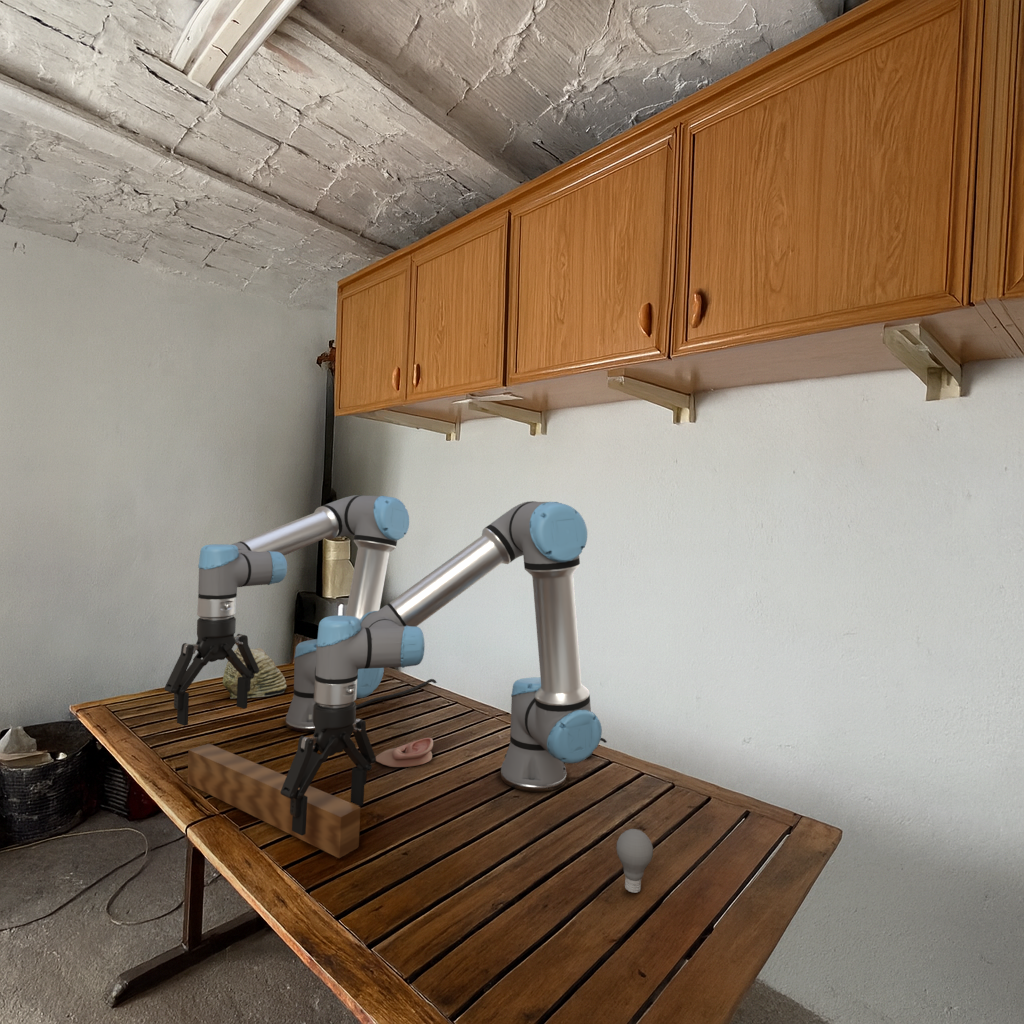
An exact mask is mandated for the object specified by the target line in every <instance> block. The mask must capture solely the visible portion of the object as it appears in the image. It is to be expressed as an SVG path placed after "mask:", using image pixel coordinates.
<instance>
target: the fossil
mask: <svg viewBox="0 0 1024 1024" xmlns="http://www.w3.org/2000/svg"><path fill="white" fill-rule="evenodd" d="M250 650H251V652H252V654H253V657H254V659H255V661H256V663H257V666H258V668H259V672H258V673H257V674H256V673H255V674H254V678H253V679H251V684H250V685H251V686H250V691H249V692H248V695H247V699H250V698H264V697H271V696H275V695H281V694H284V693H285V691H286V689H287V687H288V686H287V680H286V678H285V676H284V674H283V673H282V672H281V669H279V668H278V667H277V665H276V663H275V662H274V660H273V659H272V658H271V657H270V656H269V655H268V654H267V653H266V652H265V650H264V649H263V648H260V647H258V648H250ZM233 651H234V652H235V653H236V655H237V657H238V658H239V659H240V660H241V661H242V663H243V664H244V665H245V666H246V664H245V662H244V660H243V658H242V656H241V653H240V651H239V649H238V647H237V648H236V649H235V650H233ZM222 676H223V677H222V685H223V687H224V688H225V690H226V691H228V693H229V698H230V699H237V682H238V677H242V676H241V674H240V673H239V672H238V671H237V670H236V669H235V668H234V667H233V665H232V664H231V663H230V662H229V661H228V660H227V663H226V666H225V668H224V671H223V675H222Z"/></svg>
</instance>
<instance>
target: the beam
mask: <svg viewBox="0 0 1024 1024" xmlns="http://www.w3.org/2000/svg"><path fill="white" fill-rule="evenodd" d="M187 753H188V756H187V758H188V759H187V782H186V783H187V785H189V786H191V787H193V788H195V789H198V790H199V791H201V792H203V793H206V794H207V795H210V796H212V797H213V798H216V799H217V800H220V801H222V802H224V803H226V804H228V805H230V806H232V807H234V808H236V809H237V810H240V811H242V812H244V813H246V814H248V815H250V816H252V817H254V818H256V819H258V820H260V821H262V822H265V823H266V824H268V825H271V826H273V827H275V828H277V829H278V830H280V831H282V832H284V833H286V834H288V835H291V836H292V837H294V838H297V839H299V840H301V841H303V842H305V843H307V844H309V845H311V846H313V847H315V848H317V849H319V850H321V851H322V852H325V853H327V854H329V855H331V856H333V857H335V858H337V859H341V858H342V857H344V856H347V855H348V854H349V853H351V852H353V851H354V850H356V849H358V848H359V847H360V829H361V827H360V826H361V806H359V805H356V804H354V803H352V802H351V801H350V802H349V801H347V800H344V799H342V798H340V797H338V796H336V795H333V794H331V793H329V792H326V791H323V790H321V789H318V788H317V787H314V786H312V785H309V787H308V789H307V791H306V792H305V794H304V795H305V796H307V816H306V834H304V835H300V834H298V833H296V832H294V831H292V817H293V816H292V815H291V814H290V801H291V799H290V798H288V797H285V796H283V795H281V793H280V792H281V789H282V787H283V784H284V782H285V779H286V777H287V775H285V774H283V773H280V772H278V771H276V770H273V769H271V768H269V767H266V766H264V765H261V764H259V763H256V762H254V761H251V760H249V759H247V758H245V757H243V756H240V755H237V754H235V753H233V752H230V751H228V750H226V749H223V748H221V747H218V746H216V745H213V744H212V743H206V744H203V745H199V746H196V747H193V748H190V749H188V752H187ZM299 789H300V788H298V790H299Z"/></svg>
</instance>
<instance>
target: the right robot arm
mask: <svg viewBox="0 0 1024 1024" xmlns="http://www.w3.org/2000/svg"><path fill="white" fill-rule="evenodd" d="M587 542H588V528H587V523H586V522H585V519H584V517H583V515H581V514H580V512H579V511H578V510H577V509H575V507H572V506H571V505H568V504H566V503H562V502H558V501H535V500H534V501H533V500H530V501H525V502H522V503H520V504H517V505H515V506H513V507H512V508H510V509H509V510H507V511H506V512H504V513H503V514H502V515H500V516H499V517H497V518H496V519H495V520H494V521H492V522H491V523H490V524H488V525H487V526H485V527H484V528H483V529H482V532H481V536H480V537H478V538H477V539H475V540H474V541H473V542H471V543H470V544H469V545H467V546H466V547H464V548H463V549H461V550H460V551H458V553H456V554H455V555H453V556H452V557H450V558H449V559H447V560H446V561H445V562H444V563H441V565H440V566H438V567H437V568H435V569H434V570H432V571H431V572H430V573H428V574H427V575H426V576H424V577H423V578H422V579H420V580H419V581H417V582H416V583H415V584H413V585H411V586H410V587H409V588H408V589H406V590H405V591H404V592H402V593H401V594H399V595H398V596H396V597H395V598H394V599H393V600H391V601H390V602H388V603H387V604H386V605H383V606H382V607H380V609H379V610H378V611H372V612H368V613H366V614H365V615H364V616H363V617H362V618H361V619H360V620H359V619H358V618H357V617H353V616H346V615H342V614H341V615H330V616H326V617H323V618H322V619H321V620H320V621H319V623H318V628H317V629H318V630H317V638H316V639H317V642H316V644H317V648H316V674H315V689H314V701H315V702H316V703H315V704H314V709H313V724H314V726H315V732H313V735H311V736H304V735H301V736H299V738H298V743H297V750H296V752H295V755H294V757H293V759H292V762H291V764H290V766H289V769H288V771H287V774H286V776H287V777H286V779H285V782H284V784H283V787H282V789H281V792H280V793H281V795H283V796H285V797H288V798H290V799H291V801H290V814H291V815H292V816H293V817H292V831H294V832H296V833H298V834H300V835H304V834H306V816H307V796H305V795H304V794H305V792H306V791H307V789H308V787H309V786H311V784H312V782H313V780H314V778H315V777H316V775H317V773H318V772H319V769H320V768H321V767H322V764H323V763H325V762H326V761H327V759H328V758H329V757H332V756H334V755H335V754H338V753H342V752H344V753H345V754H346V756H348V758H349V759H350V760H351V761H352V763H353V764H354V766H355V767H351V783H350V784H351V785H350V803H352V804H354V805H357V806H359V807H363V806H364V801H365V786H366V784H367V775H368V772H369V771H371V770H372V768H373V765H372V764H375V763H376V762H377V761H376V755H375V752H374V750H373V745H372V744H371V741H370V739H369V735H368V733H367V723H366V720H363V719H360V718H357V717H356V716H357V715H356V714H357V708H356V705H357V703H356V702H355V701H357V698H356V696H357V678H358V669H367V668H384V669H386V668H387V669H388V668H402V669H405V668H407V667H415V666H418V665H420V664H421V663H422V662H423V659H424V656H425V647H426V646H425V645H426V644H425V636H424V632H423V630H422V629H421V627H419V626H420V625H421V624H423V623H424V622H425V621H426V620H428V619H429V618H431V617H432V616H433V615H434V614H436V613H437V612H438V611H439V610H441V609H442V608H444V607H445V606H447V605H448V604H449V603H451V602H452V601H454V599H456V598H458V597H459V596H460V595H461V594H463V593H464V592H466V591H467V590H468V589H470V588H471V587H473V585H475V584H476V583H477V582H478V581H480V580H482V579H483V578H484V577H485V576H487V575H488V574H489V573H491V572H492V571H494V570H495V569H496V568H498V567H499V566H500V565H502V564H504V565H509V564H510V563H512V562H514V561H515V560H516V559H518V558H520V557H523V567H524V570H525V571H526V572H527V573H528V574H529V575H530V576H531V577H532V589H533V590H532V591H533V600H534V602H533V603H534V612H535V613H534V614H535V615H534V616H535V625H536V628H535V629H536V639H537V650H538V662H539V663H538V664H539V676H537V677H536V676H535V677H534V676H532V677H531V676H530V677H524V678H519V679H517V680H515V681H514V682H513V684H512V691H511V694H510V696H511V706H510V707H511V710H510V735H509V745H508V748H507V751H506V753H505V755H504V758H503V759H504V760H503V761H502V764H501V766H500V778H501V780H502V782H503V783H504V784H506V785H507V786H509V787H511V788H513V789H516V790H519V791H523V792H529V793H532V792H533V793H545V792H551V791H555V790H557V789H560V788H561V787H563V786H564V785H565V784H566V782H567V768H566V765H565V764H570V765H571V764H578V763H581V762H583V761H585V760H587V759H588V758H590V757H592V755H593V752H594V751H595V750H596V749H597V748H598V746H599V744H600V742H603V743H605V744H606V743H608V741H607V740H606V739H605V738H604V737H602V734H603V728H602V723H601V721H600V719H599V718H598V715H596V713H594V712H593V711H592V709H591V708H592V707H591V694H590V690H589V689H588V688H587V687H586V686H585V685H584V684H582V672H581V659H580V658H581V657H580V647H579V645H580V644H579V634H578V633H579V632H578V619H577V607H576V594H575V592H576V591H575V579H574V574H575V572H576V570H578V568H580V566H581V561H580V555H581V554H582V553H583V550H584V548H586V545H587ZM352 735H353V737H354V740H355V742H356V743H355V742H354V741H353V740H352V739H351V737H352ZM356 745H357V747H358V748H357V747H356ZM318 752H319V753H318ZM298 788H300V789H299V790H298Z"/></svg>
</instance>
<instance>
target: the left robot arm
mask: <svg viewBox="0 0 1024 1024" xmlns="http://www.w3.org/2000/svg"><path fill="white" fill-rule="evenodd" d="M409 527H410V515H409V511H408V509H407V508H406V505H405V504H404V502H403V501H401V499H398V498H397V497H394V496H387V495H362V494H361V495H360V494H354V495H350V496H345V497H342V498H340V499H337V500H334V501H331V502H329V503H326V504H323V505H321V506H318V507H316V509H315V510H314V511H313V513H311V514H307V515H305V516H302V517H300V518H297V519H295V520H292V521H290V522H287V523H284V524H281V525H279V526H275V527H274V528H271V529H269V530H266V531H263V532H261V533H258V534H256V535H253V536H251V537H248V538H245V539H242V540H239V541H237V542H234V543H231V544H228V543H226V544H224V543H222V544H221V543H220V544H217V543H212V544H206V545H203V546H202V547H201V548H200V552H199V558H198V586H197V587H198V591H197V593H198V595H197V612H196V613H197V614H196V615H197V616H198V619H197V620H196V637H197V640H196V643H187V642H183V643H182V644H181V649H180V655H179V657H178V659H177V661H176V663H175V665H174V667H173V669H172V671H171V673H170V675H169V678H168V679H167V681H166V684H165V686H164V691H165V692H168V693H170V694H173V708H174V709H175V710H177V712H176V714H177V715H176V723H177V724H179V725H182V726H183V727H185V726H189V706H190V705H189V703H190V701H189V700H190V692H187V690H188V689H189V688H190V686H191V684H192V683H193V682H194V681H195V680H196V678H197V676H198V675H199V674H200V672H201V671H202V670H203V668H204V667H206V666H207V665H208V664H209V663H213V662H217V661H223V660H225V659H226V660H227V662H228V661H229V662H230V663H231V664H232V665H233V667H234V668H235V669H236V670H237V671H238V672H239V673H240V674H241V676H242V677H238V682H237V698H236V707H238V708H240V709H243V710H246V709H247V708H248V698H247V695H248V692H249V691H250V686H251V685H250V684H251V679H253V678H254V674H255V673H256V674H257V673H258V672H259V668H258V666H257V663H256V661H255V659H254V657H253V654H252V652H251V650H250V649H251V647H250V646H249V638H248V635H246V634H242V633H237V634H236V625H237V623H236V622H237V618H236V617H235V615H236V614H237V596H238V595H237V594H238V588H243V587H253V586H254V587H255V586H265V585H267V586H270V585H274V584H279V583H281V582H282V581H283V580H284V579H285V577H286V576H287V573H288V563H287V559H286V557H285V556H287V555H289V554H291V553H293V552H296V551H299V550H301V549H303V548H306V547H308V546H310V545H312V544H315V543H317V542H320V541H323V540H324V539H326V540H334V539H336V538H338V537H344V536H347V537H348V536H351V537H353V543H354V544H355V545H356V547H357V551H356V556H355V563H354V568H353V574H352V579H351V585H350V591H349V595H348V600H347V606H346V612H345V616H353V617H357V618H358V619H359V620H360V619H361V618H362V617H363V616H364V615H365V614H366V613H368V612H372V611H378V610H380V609H381V603H382V597H383V592H384V587H385V580H386V575H387V569H388V564H389V558H390V554H391V552H393V551H394V550H395V549H396V548H397V544H398V541H400V540H401V539H403V538H404V537H405V535H407V533H408V531H409ZM235 634H236V635H235ZM316 642H317V638H315V639H308V640H304V641H301V642H299V643H298V644H297V645H296V646H295V652H294V656H293V659H294V661H293V662H294V668H293V669H294V670H293V695H292V696H293V697H292V699H291V702H290V704H289V708H288V711H287V713H286V715H285V726H286V728H287V729H289V730H291V731H294V732H295V731H296V732H301V733H314V732H315V726H314V724H313V709H314V704H315V703H316V702H315V701H314V689H315V674H316V648H317V644H316ZM235 645H236V647H237V648H238V649H239V651H240V653H241V656H242V658H243V660H244V662H245V664H246V666H245V665H244V664H243V663H242V661H241V660H240V659H239V658H238V657H237V655H236V653H235V652H234V651H235V650H233V648H234V646H235ZM196 651H197V653H196ZM194 655H195V656H194ZM193 656H194V657H193ZM191 661H192V662H191ZM190 663H191V664H190ZM384 673H385V668H367V669H358V678H357V696H356V699H365V698H367V697H369V696H370V695H371V694H373V692H374V691H375V690H377V688H378V687H379V686H380V684H381V682H382V679H383V677H384ZM430 683H433V684H437V683H438V682H437V681H436V679H434V678H430V679H428V680H426V681H424V682H422V683H419V684H417V685H416V686H413V687H411V688H409V689H408V688H407V689H406V690H402V691H399V692H396V693H391V694H386V695H383V696H379V697H373V698H371V699H367V700H366V701H364V702H361V703H358V704H356V709H359V708H362V707H364V706H367V705H369V704H371V703H374V702H379V701H383V700H388V699H390V698H391V699H392V698H395V697H399V696H402V695H405V694H409V693H411V692H414V691H416V690H418V689H420V688H422V687H425V686H426V685H428V684H430Z"/></svg>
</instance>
